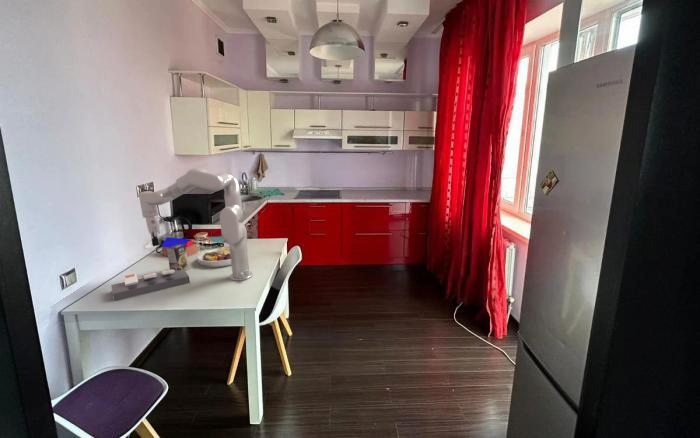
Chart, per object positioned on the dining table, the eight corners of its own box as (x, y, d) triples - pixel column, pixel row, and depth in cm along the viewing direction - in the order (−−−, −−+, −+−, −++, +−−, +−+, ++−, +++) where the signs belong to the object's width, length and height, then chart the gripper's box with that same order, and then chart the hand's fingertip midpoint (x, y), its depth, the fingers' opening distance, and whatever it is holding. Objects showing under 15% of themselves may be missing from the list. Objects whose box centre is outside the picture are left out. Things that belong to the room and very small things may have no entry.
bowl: (191, 261, 243) (189, 249, 241) (234, 250, 262) (233, 239, 261) (209, 272, 221) (207, 260, 219) (255, 260, 240) (253, 248, 239)
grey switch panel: (190, 283, 206) (189, 275, 205) (114, 301, 186) (112, 293, 185) (184, 275, 217) (183, 268, 216) (112, 291, 197) (111, 284, 196)
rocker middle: (157, 277, 201) (156, 273, 200) (144, 280, 197) (143, 276, 197) (155, 276, 207) (154, 272, 207) (143, 279, 204) (142, 275, 204)
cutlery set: (229, 237, 296) (229, 235, 295) (221, 249, 267) (221, 246, 266) (203, 239, 294) (203, 236, 293) (192, 251, 265) (192, 248, 264)
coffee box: (179, 274, 219) (175, 248, 215) (170, 274, 220) (166, 248, 216) (189, 269, 227) (185, 244, 224) (179, 268, 229) (176, 243, 225)
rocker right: (175, 273, 205) (174, 269, 205) (163, 276, 202) (162, 272, 202) (173, 272, 212) (172, 269, 212) (161, 275, 209) (160, 271, 209)
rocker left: (138, 284, 196) (138, 281, 195) (125, 287, 193) (125, 284, 192) (136, 276, 202) (136, 273, 201) (123, 279, 199) (123, 276, 198)
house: (176, 250, 267) (173, 235, 264) (198, 253, 260) (196, 236, 257) (162, 255, 256) (160, 239, 253) (185, 258, 249) (182, 241, 246)
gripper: (160, 214, 201) (165, 246, 205) (155, 210, 213) (160, 241, 217) (144, 216, 197) (150, 249, 201) (140, 213, 209) (146, 244, 213)
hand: (156, 245), depth 209 cm, fingers closed
